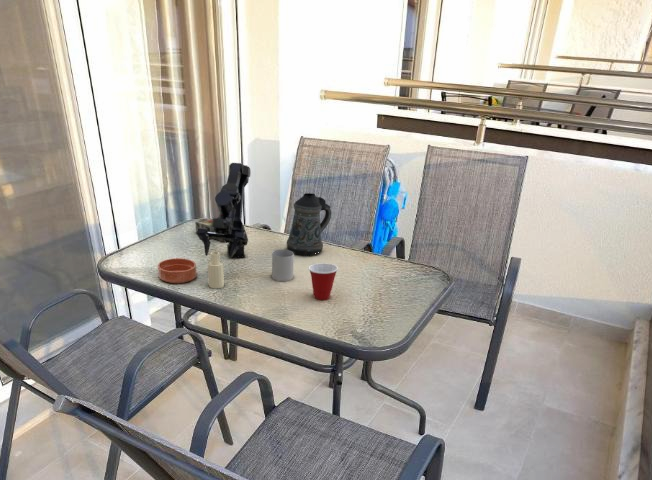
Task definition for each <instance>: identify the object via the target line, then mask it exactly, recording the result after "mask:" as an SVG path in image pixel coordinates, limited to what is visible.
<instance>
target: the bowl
mask: <svg viewBox="0 0 652 480" xmlns="http://www.w3.org/2000/svg"><path fill="white" fill-rule="evenodd" d="M196 263H197V262H195V261H193V260H191V259H189V258H183V257H182V258H179V257H176V258H175V257H174V258H167V259H164V260H162V261H160V262H158V264H157V273H158V274H157V275H158V279H160V280H161V281H164V282H166V283H168V284H184V283H185V284H186V283H188V282H191V281H192V280H194V279H195V278H197V275H198V273H197V264H196Z"/></svg>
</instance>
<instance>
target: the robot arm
mask: <svg viewBox="0 0 652 480" xmlns="http://www.w3.org/2000/svg"><path fill="white" fill-rule="evenodd" d="M251 174H252V173H251V168H250V166H248V164H247V165H245V164H243V163H242V162H230V164H229V165H228V176H227V181H226V183H225V184H223V185H222V186H221V189H220V191H218V193H217V194H216V195H215V197H214V202H215V204H216V207H217V209H218V211H219V213H218V217H212V218H211V219H212V227H214V231H216V232H210V231H209V230H208V228H201V227H199V228H198V229H197V232H196V231H195V234H196V236H197V237H198V239H199V240H200V241H202V243H203V247H204V248H203V249H204V254H205V257H208V255H209V251H210V247H211V239H213V238H222V239H224V241H225V244H227V243H228V244H227V245H226V248H227V249H226V250H227V251H226V253H227V255H228V257H229V258H228V259H230V260H231V259H239V258H241V259H242V258H246V255H245V246H248V243H249V238H248V233H247V232H246V229H245V226H244V223H243V221H242V217H243V205H244V196H245V195H244V194H245V188H246V186H247V185H248V183H249V180H250V178H251ZM211 237H212V238H211Z"/></svg>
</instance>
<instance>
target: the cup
mask: <svg viewBox="0 0 652 480" xmlns="http://www.w3.org/2000/svg"><path fill="white" fill-rule="evenodd" d="M294 261H295V255H294V253H293V252H292V251H289V250H288V249H275V250H273V251H272V252H271V277H272V279H273V280H275V281H276V282H277V281H278V282H289V281H291V280H293V278H294Z"/></svg>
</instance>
